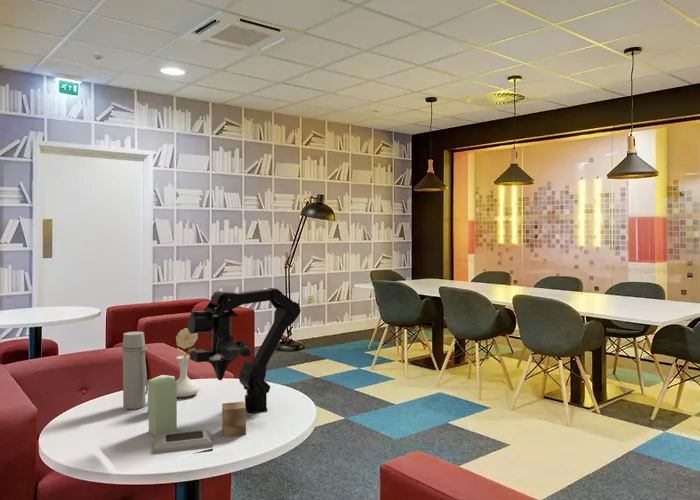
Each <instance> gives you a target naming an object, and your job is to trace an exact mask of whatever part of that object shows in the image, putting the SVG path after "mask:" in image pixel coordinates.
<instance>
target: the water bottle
mask: <svg viewBox="0 0 700 500" xmlns="http://www.w3.org/2000/svg"><path fill="white" fill-rule="evenodd" d="M145 340H146V339H145V332H143V331H128V332H124V333H123V337H122V346H121V349H122V389H123V390H122V392H123V393H122V398H123V400H122V405H123V406H122V407H123V408H124V409H126V410H138V409H141V408H143V407H145V406H146V395H148V375H147V374H148V373H147V364H146V363H147V362H146V350H148V346H147V345H146V341H145Z"/></svg>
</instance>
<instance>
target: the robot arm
mask: <svg viewBox="0 0 700 500" xmlns="http://www.w3.org/2000/svg"><path fill="white" fill-rule="evenodd" d="M268 301H269V302H270V304H271V306H273V308H274V309H275V311H274V315H273V316H274V317H273V323H272V325H271V327H270V328H269V331H268V332H267V334H266V336H265V337H264V339H263V341H262V343H261V344H260V347H259V349H258V350H257V352H256V354H255V356H254V358H253V359H252V360H251V361H247V360H246V361H245V362H243V365H242V368H241V369H240V370H239V371H238V373H239V375H238V379H239V380H238V381H239V383H240V384H241V385H242V387H243V390H246V393H245V394H246V395H244V405H245V407H246V413H249V414H251V413H260V412H267V411H269V410H268V406H267V405H268V404H267V402H268V401H267V396H268V395H267V394H268V393H269V392H270V389H271V385H270V384H269V383H267V382H266V381H265V379H266V375H267V366H268V364H269V362H270V360H271V358H272V356H273V354H274V352H275V351H276V349H277V347H278V345H279V344H280V342H281V340H282V337H283V336H284V333H285V331H286V329H288V328H289V327H290V326H291V325H292V324H293V323H295V321H296V320H297V319H298V318H299V316H300V315H301V311H302V310H301V306H300V304H299V303H298V302H297V301H293V300H292V299H291V298H289V296H287V295H286V294H285V293H284V292H282V291H281V290H279V289H278V288H275V287H268V288H265V289H256V290H247V291H241V292H237V291H236V292H235V291H233V292H232V291H224V290H222V291H221V290H219V291H215V292H213V294H212V295H211V297H210V301H209V302H208V303H207V305H206V306H205V308H204V309H203V311H196V310H193V311H192V310H191V311H190V315H189V317H188V321H187V328H188V330H189V332H190V334H195V333H197V334H207V333H210V332H211V333H210V335H209V337H210V338H211V346H209V351H207V350H206V349H203V348H200V349H196V350H192V351H191V353H190V352H189V356H190V359H189V360H191V361H193V362H196V363H205V362H208V361H209V363H210V365H211V366H212V368H213V371H214V373H215V376H216V378H217V380H218V381H222V380H223V378H224V376H225V372H226V371H227V368H228V366H229V364H230V363H231V362H232V361H235V359H237V358H238V359H239V357H240V356H241V357H250V356H251V348H250V347H249V346H247V345H246V344H245V341H244V340H240V341H239V340H238V341H234V336H233V334H231V333H232V332H231V331H232V318H235V317H237V318H238V316H239V314H237V313H236V312H235V311H234V309H236V308H238V307H241V306H244V305H249V304H256V303H262V302H263V303H264V302H268ZM239 355H240V356H239Z"/></svg>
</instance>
